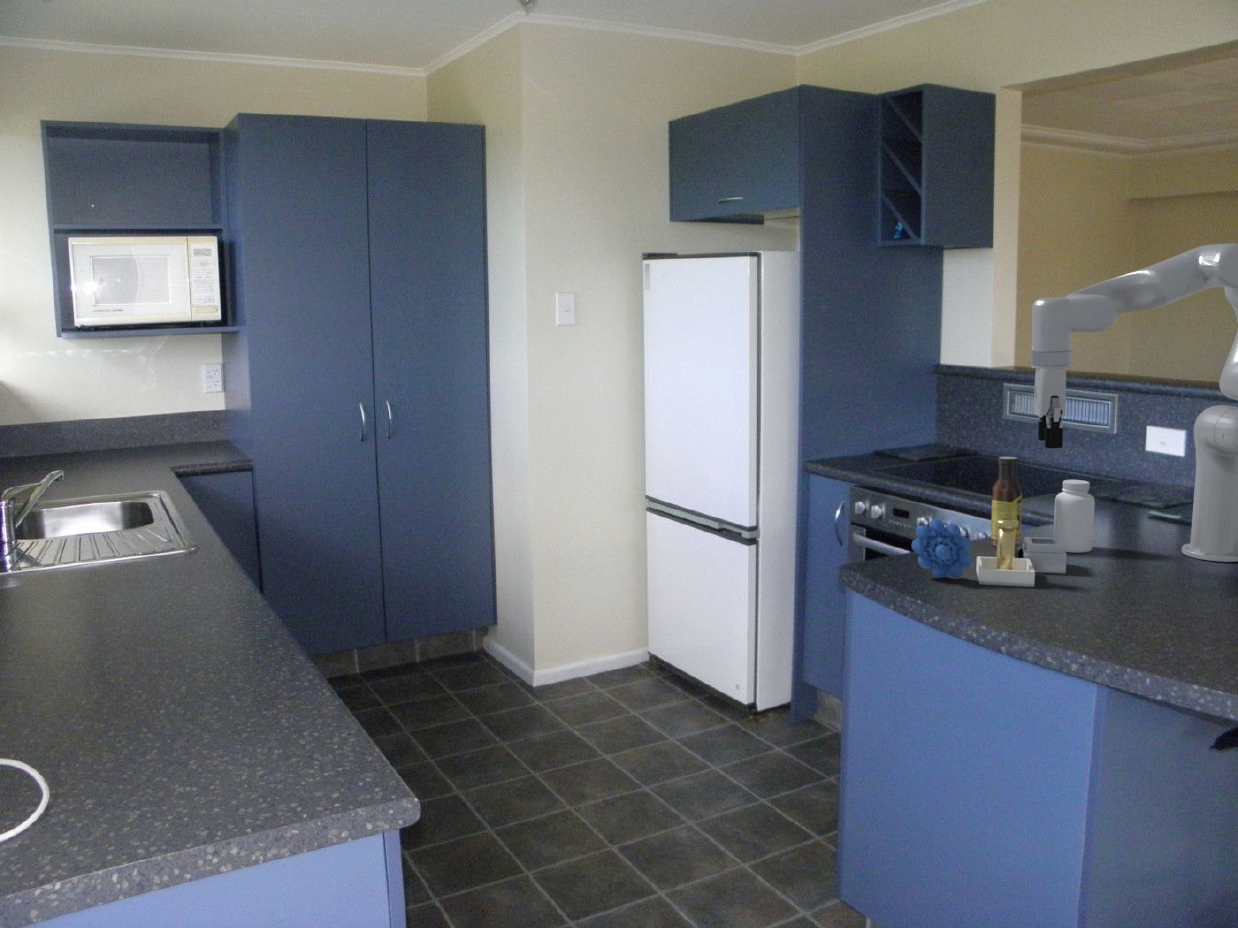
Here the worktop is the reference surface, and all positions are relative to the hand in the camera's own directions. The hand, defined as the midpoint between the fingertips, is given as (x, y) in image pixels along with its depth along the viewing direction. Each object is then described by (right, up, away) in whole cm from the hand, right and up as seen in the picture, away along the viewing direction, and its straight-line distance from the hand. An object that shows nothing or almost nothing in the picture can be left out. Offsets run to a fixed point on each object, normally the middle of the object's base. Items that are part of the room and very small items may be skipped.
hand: (1050, 443), depth 214 cm
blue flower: (-24, -27, -6) cm, 37 cm away
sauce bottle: (-2, -23, +19) cm, 30 cm away
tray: (-11, -27, -6) cm, 30 cm away
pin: (-11, -26, -6) cm, 29 cm away
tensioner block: (-4, -25, +2) cm, 26 cm away
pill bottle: (+11, -23, +15) cm, 30 cm away
